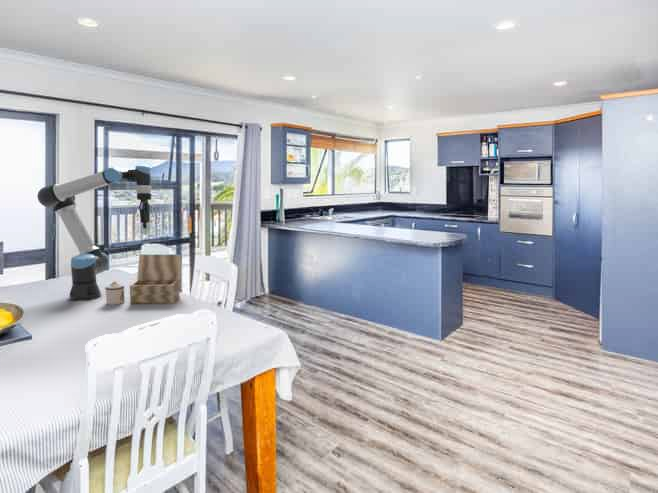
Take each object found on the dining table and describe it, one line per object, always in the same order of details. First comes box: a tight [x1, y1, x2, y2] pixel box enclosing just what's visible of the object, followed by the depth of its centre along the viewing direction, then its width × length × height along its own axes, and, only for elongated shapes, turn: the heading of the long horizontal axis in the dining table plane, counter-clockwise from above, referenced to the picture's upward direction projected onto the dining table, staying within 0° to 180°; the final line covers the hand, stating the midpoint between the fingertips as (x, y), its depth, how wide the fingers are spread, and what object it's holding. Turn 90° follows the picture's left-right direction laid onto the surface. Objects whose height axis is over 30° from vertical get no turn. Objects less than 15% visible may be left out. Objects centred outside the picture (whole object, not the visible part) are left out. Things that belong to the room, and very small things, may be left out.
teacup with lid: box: [104, 280, 125, 306], centre depth 228 cm, size 12×9×12 cm
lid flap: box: [136, 254, 183, 281], centre depth 242 cm, size 23×14×1 cm
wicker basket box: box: [129, 280, 180, 305], centre depth 233 cm, size 22×14×10 cm, turn 97°
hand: (145, 233), depth 248 cm, fingers closed
